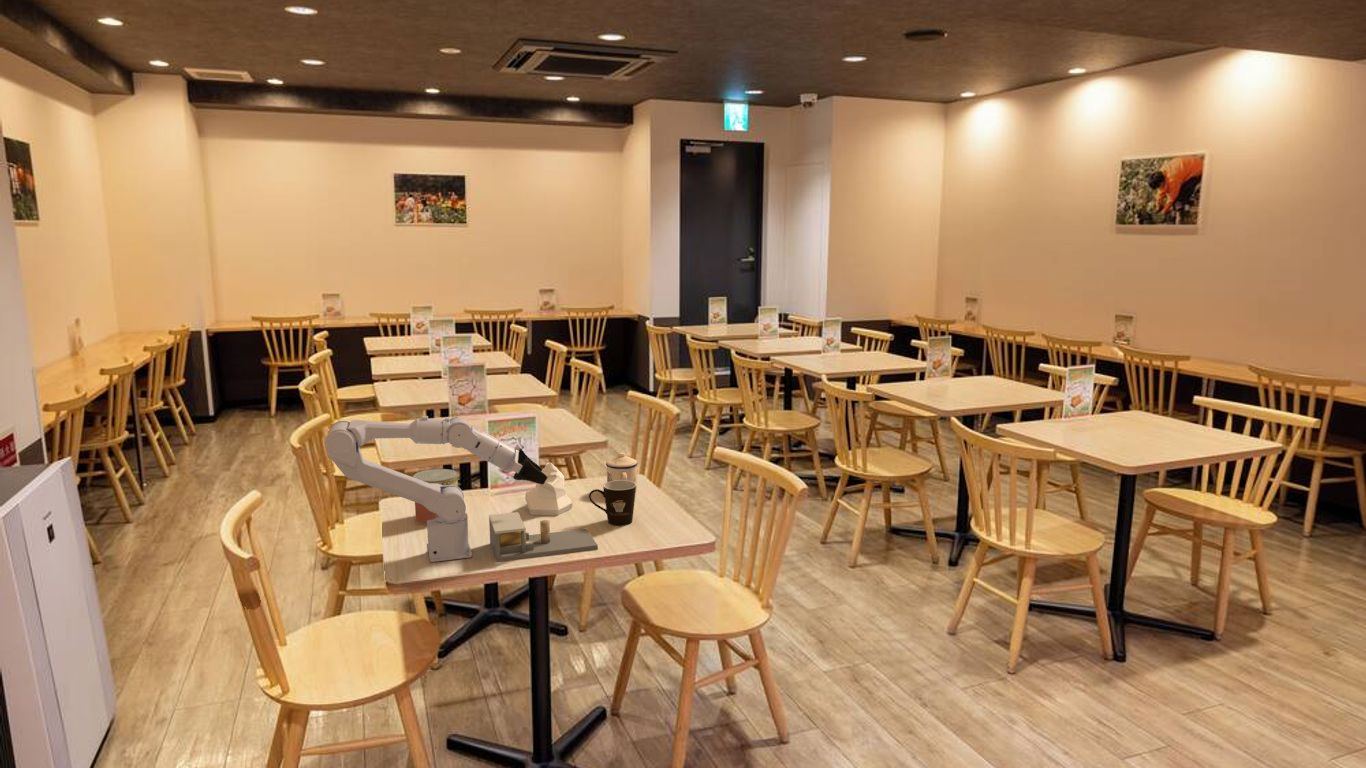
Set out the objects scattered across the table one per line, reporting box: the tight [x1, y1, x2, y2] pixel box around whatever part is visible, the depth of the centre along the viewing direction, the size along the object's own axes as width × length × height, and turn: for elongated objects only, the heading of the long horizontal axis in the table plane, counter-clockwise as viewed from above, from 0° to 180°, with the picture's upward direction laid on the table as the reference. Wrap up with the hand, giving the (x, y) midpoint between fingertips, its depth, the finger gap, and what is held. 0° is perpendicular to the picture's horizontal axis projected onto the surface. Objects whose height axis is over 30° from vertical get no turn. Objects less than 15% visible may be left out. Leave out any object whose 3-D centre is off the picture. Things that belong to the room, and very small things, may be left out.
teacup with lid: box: [605, 452, 638, 494], centre depth 248 cm, size 12×9×12 cm
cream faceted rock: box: [524, 462, 574, 516], centre depth 234 cm, size 12×15×14 cm
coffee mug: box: [588, 480, 637, 527], centre depth 225 cm, size 12×9×10 cm
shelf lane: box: [488, 511, 599, 562], centre depth 207 cm, size 24×12×7 cm, turn 109°
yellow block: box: [500, 519, 551, 546], centre depth 206 cm, size 12×5×5 cm, turn 109°
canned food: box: [412, 468, 459, 527], centre depth 226 cm, size 11×11×12 cm
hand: (542, 476), depth 206 cm, fingers open, 7 cm apart
